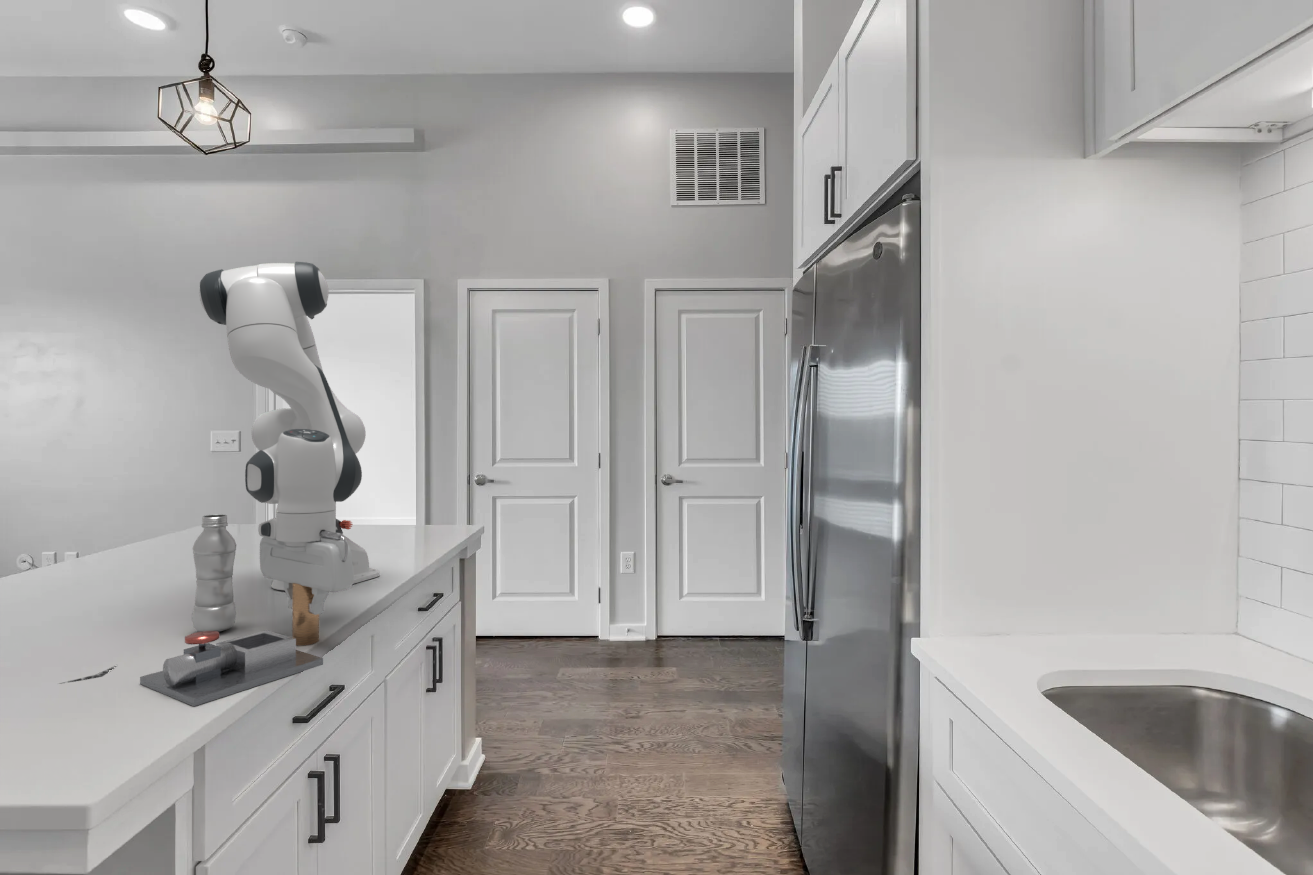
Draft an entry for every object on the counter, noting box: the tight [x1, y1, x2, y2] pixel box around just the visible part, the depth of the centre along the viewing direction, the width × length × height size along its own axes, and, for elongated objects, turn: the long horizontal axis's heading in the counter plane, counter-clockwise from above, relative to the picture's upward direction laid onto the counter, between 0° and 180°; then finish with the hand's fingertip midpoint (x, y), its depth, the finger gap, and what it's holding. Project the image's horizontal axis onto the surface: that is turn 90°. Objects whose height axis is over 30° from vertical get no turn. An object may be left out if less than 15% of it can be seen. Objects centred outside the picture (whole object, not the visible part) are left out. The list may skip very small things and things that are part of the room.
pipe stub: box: [291, 583, 320, 646], centre depth 114 cm, size 4×4×10 cm
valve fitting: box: [139, 629, 324, 707], centre depth 99 cm, size 18×14×7 cm
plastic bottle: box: [191, 513, 237, 633], centre depth 118 cm, size 6×7×20 cm
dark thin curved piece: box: [57, 665, 117, 685], centre depth 98 cm, size 13×1×5 cm
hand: (305, 610), depth 114 cm, fingers closed on pipe stub, 4 cm apart
